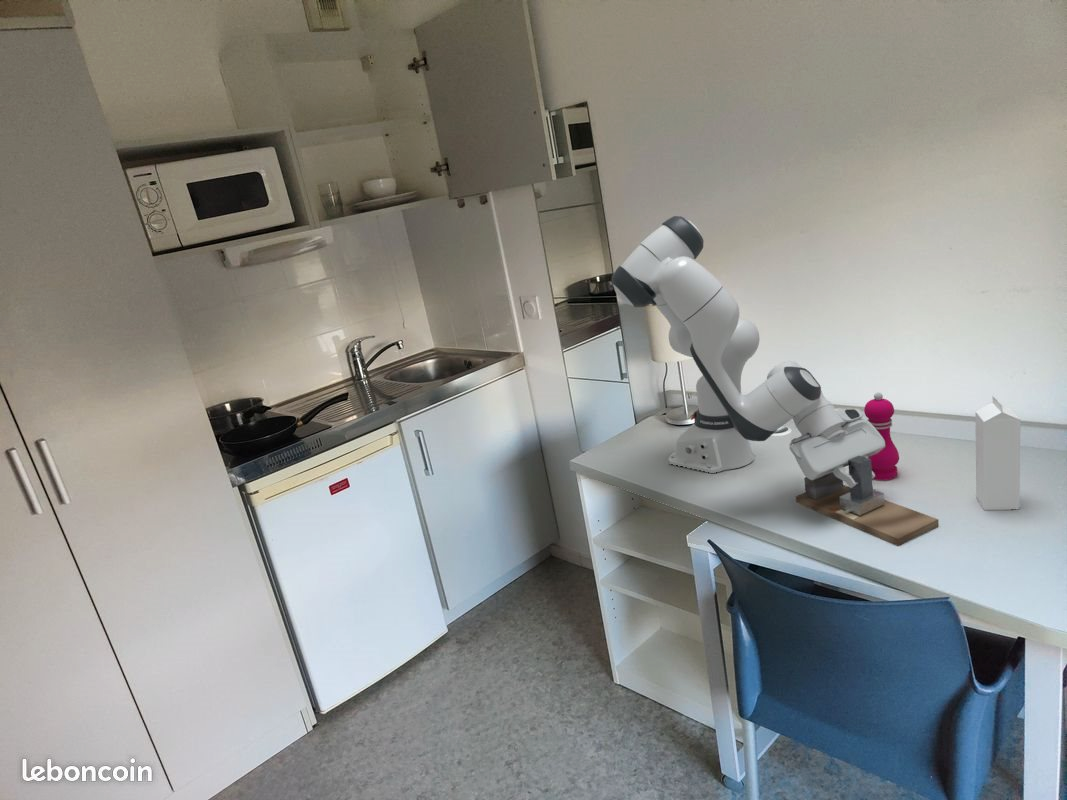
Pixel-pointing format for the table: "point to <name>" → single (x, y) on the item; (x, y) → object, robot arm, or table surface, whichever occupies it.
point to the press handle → (861, 489)
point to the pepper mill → (881, 419)
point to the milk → (997, 457)
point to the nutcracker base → (880, 522)
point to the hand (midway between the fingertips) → (863, 482)
